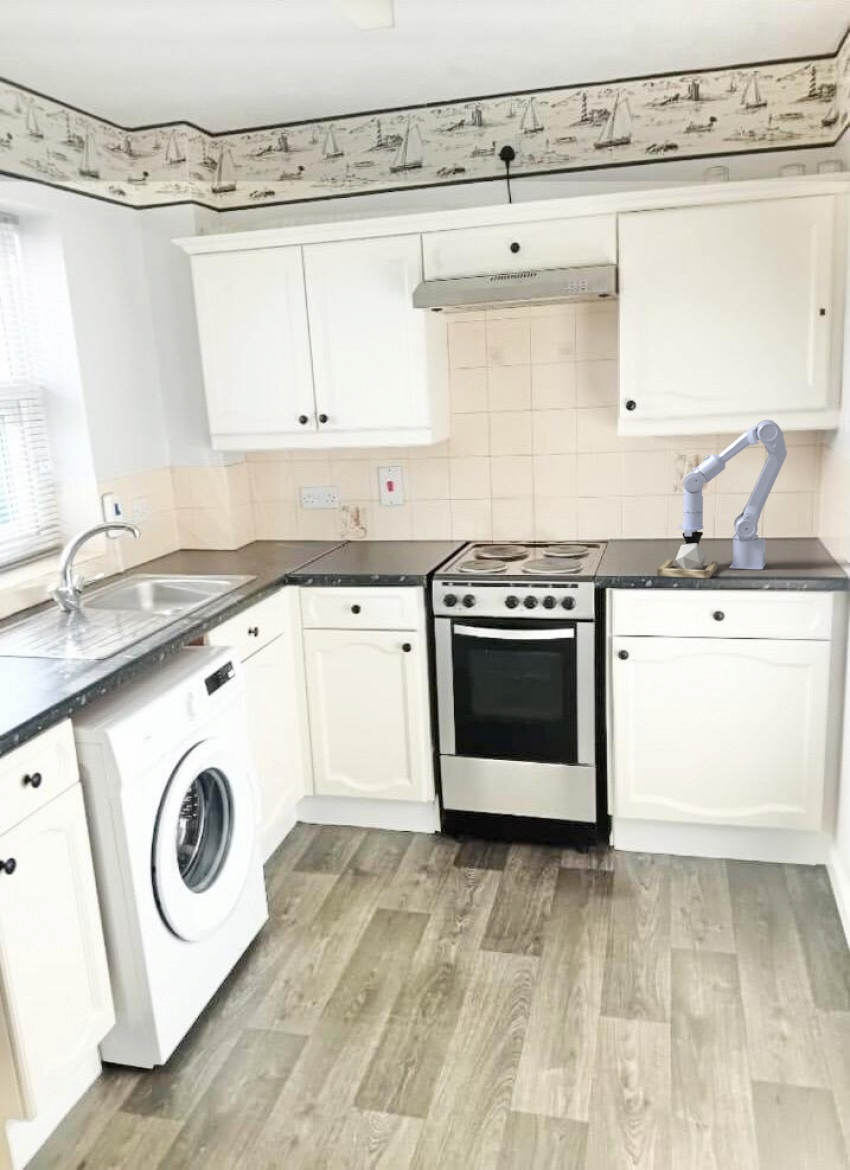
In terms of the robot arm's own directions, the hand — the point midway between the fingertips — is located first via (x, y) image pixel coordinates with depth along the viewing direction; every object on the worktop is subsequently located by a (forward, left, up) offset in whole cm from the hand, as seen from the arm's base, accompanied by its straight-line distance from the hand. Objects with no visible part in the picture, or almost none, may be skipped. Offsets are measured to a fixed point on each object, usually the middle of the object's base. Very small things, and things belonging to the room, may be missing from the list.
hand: (692, 555), depth 278 cm
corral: (0, +7, -3) cm, 8 cm away
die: (-1, +4, -4) cm, 5 cm away
